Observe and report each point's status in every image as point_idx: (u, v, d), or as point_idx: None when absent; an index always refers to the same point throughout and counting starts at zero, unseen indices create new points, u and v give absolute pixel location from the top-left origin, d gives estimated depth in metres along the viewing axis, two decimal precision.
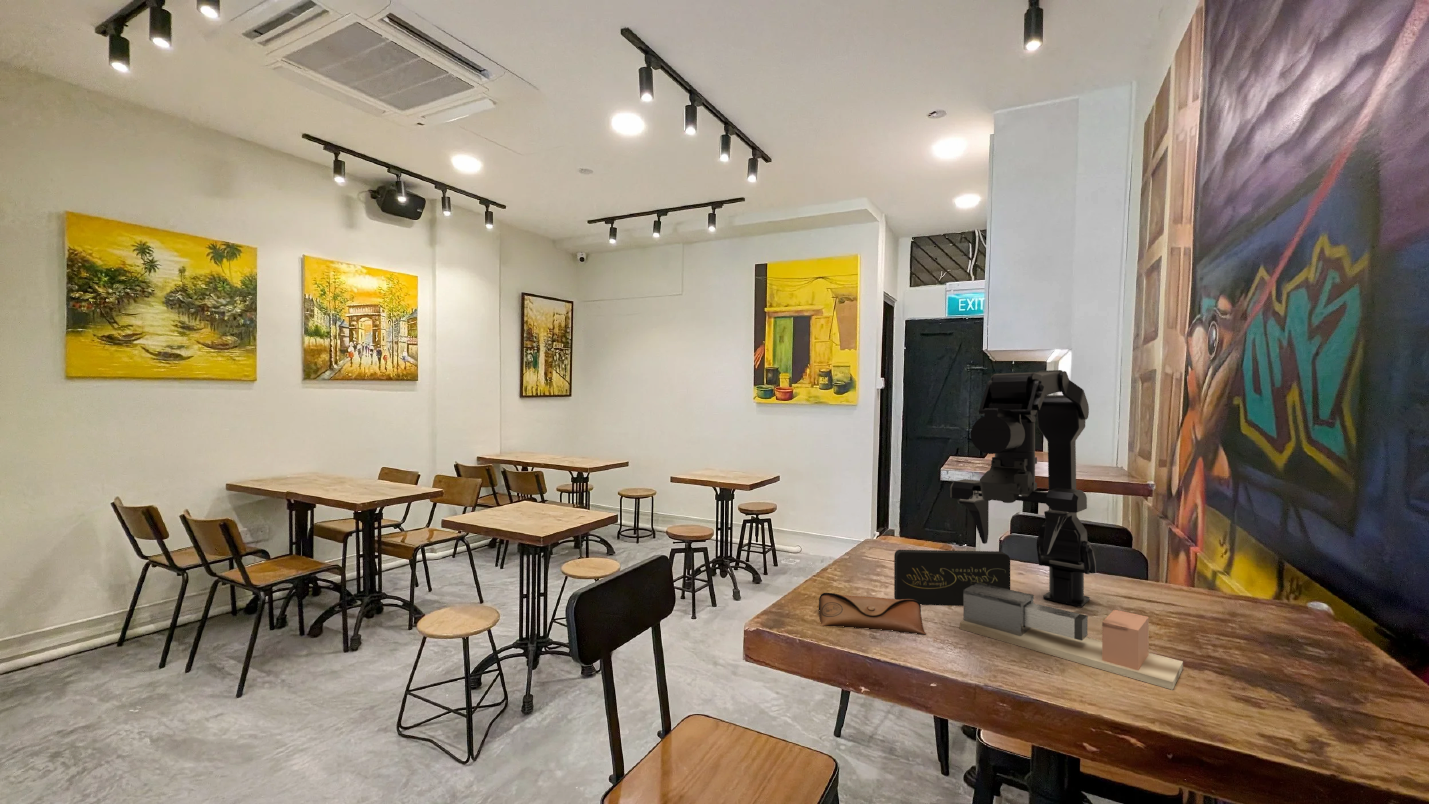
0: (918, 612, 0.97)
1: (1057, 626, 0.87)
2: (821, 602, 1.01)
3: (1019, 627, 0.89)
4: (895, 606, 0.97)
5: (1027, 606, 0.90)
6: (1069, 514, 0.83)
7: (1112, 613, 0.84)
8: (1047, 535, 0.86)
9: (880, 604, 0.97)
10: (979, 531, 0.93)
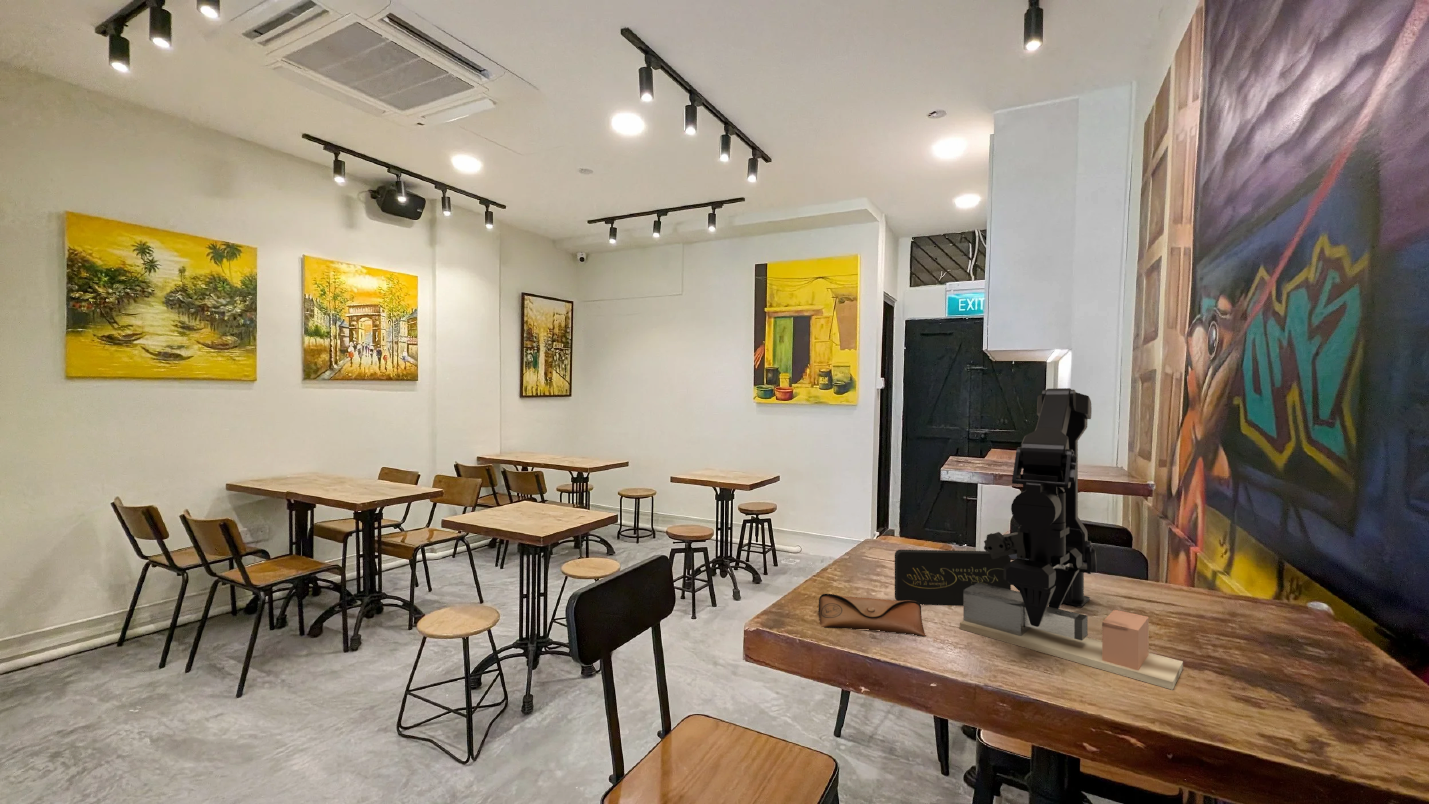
0: (918, 613, 0.96)
1: (1057, 626, 0.87)
2: (821, 603, 1.00)
3: (1019, 627, 0.89)
4: (895, 607, 0.97)
5: None
6: (1017, 584, 0.85)
7: (1112, 613, 0.84)
8: None
9: (880, 605, 0.97)
10: None
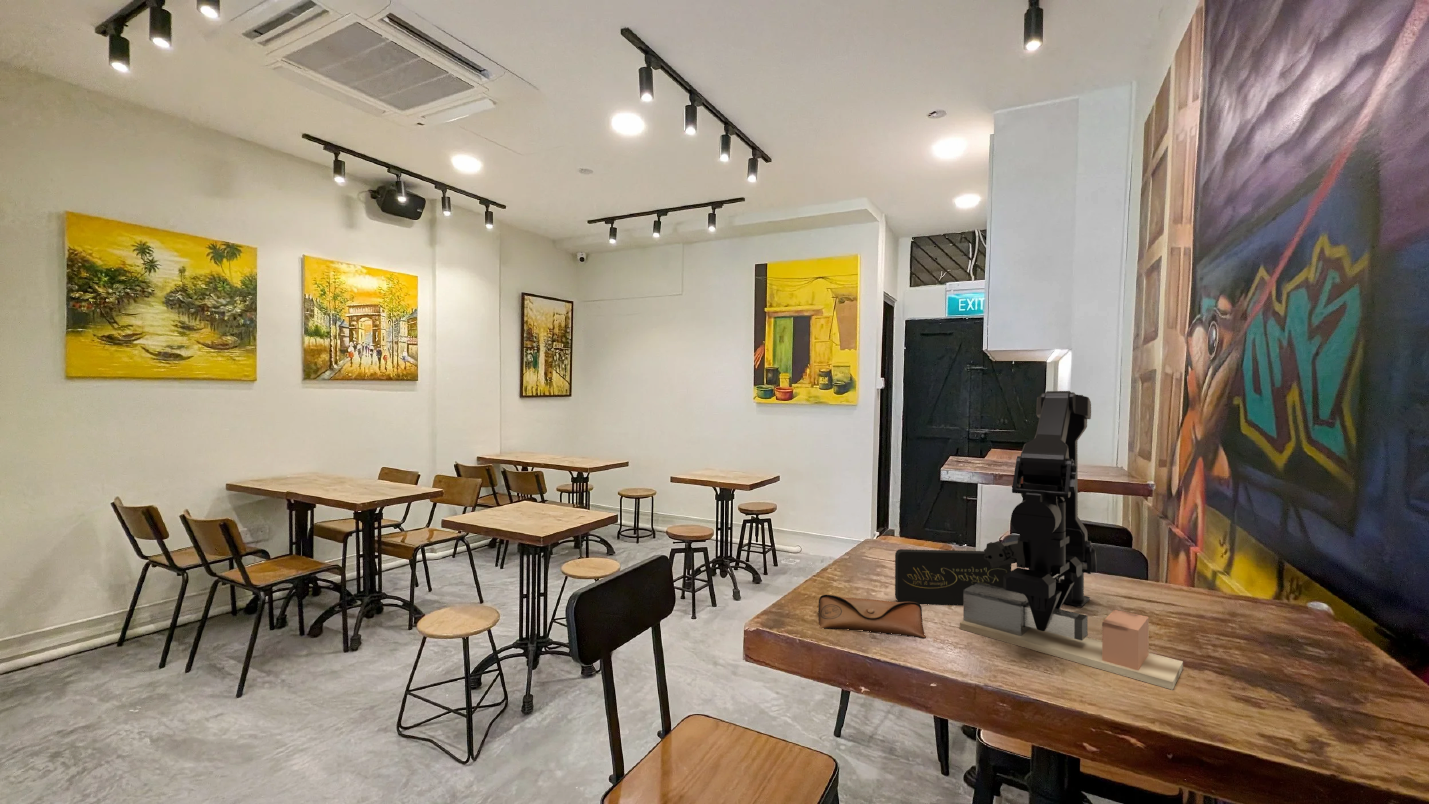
0: (919, 615, 0.95)
1: (1057, 626, 0.87)
2: (820, 604, 1.00)
3: (1019, 627, 0.89)
4: (895, 609, 0.96)
5: (1027, 606, 0.90)
6: None
7: (1112, 613, 0.84)
8: None
9: (880, 606, 0.96)
10: None
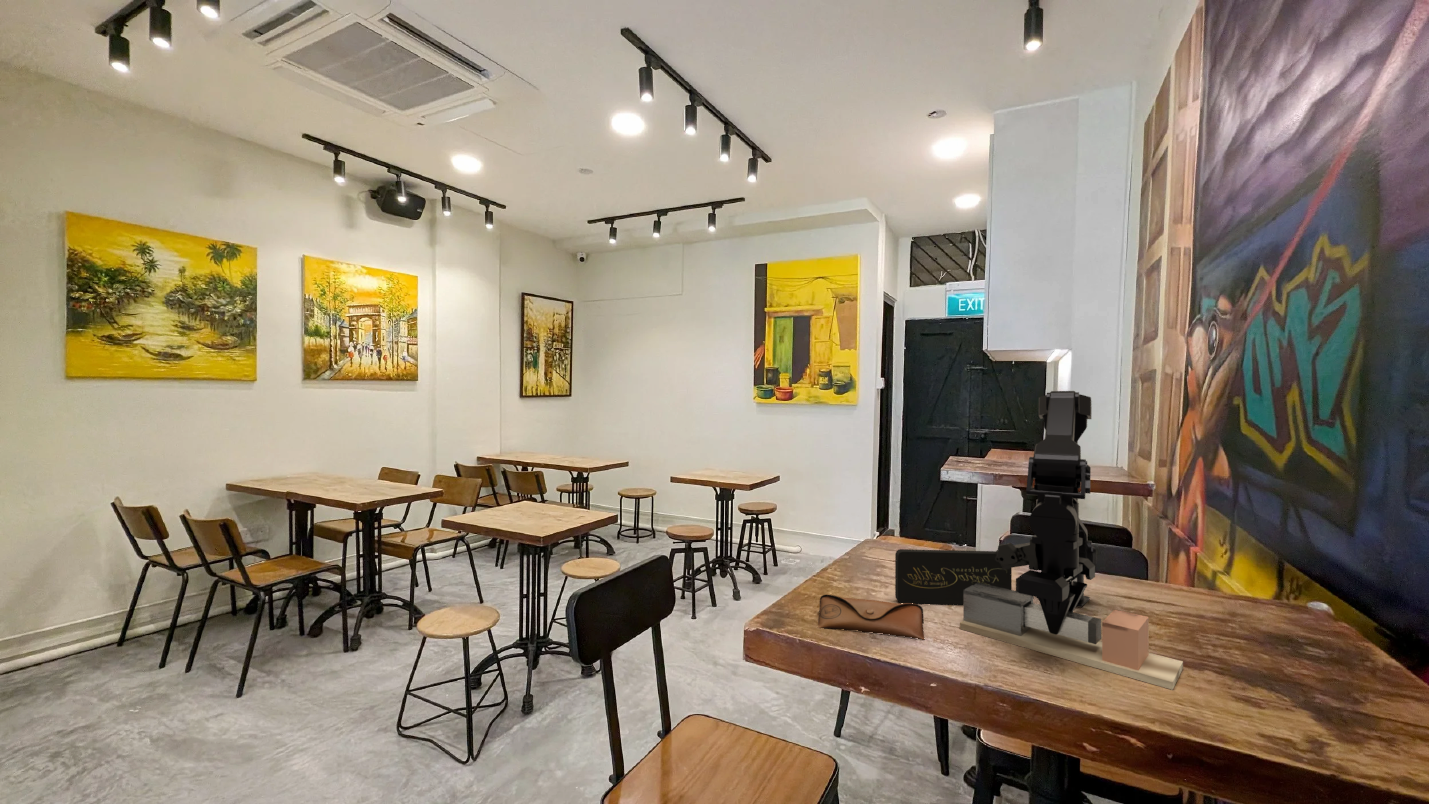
0: (919, 617, 0.94)
1: (1070, 629, 0.85)
2: (821, 604, 1.00)
3: (1019, 627, 0.89)
4: (895, 610, 0.96)
5: (1039, 609, 0.89)
6: None
7: (1112, 613, 0.84)
8: None
9: (880, 607, 0.95)
10: None
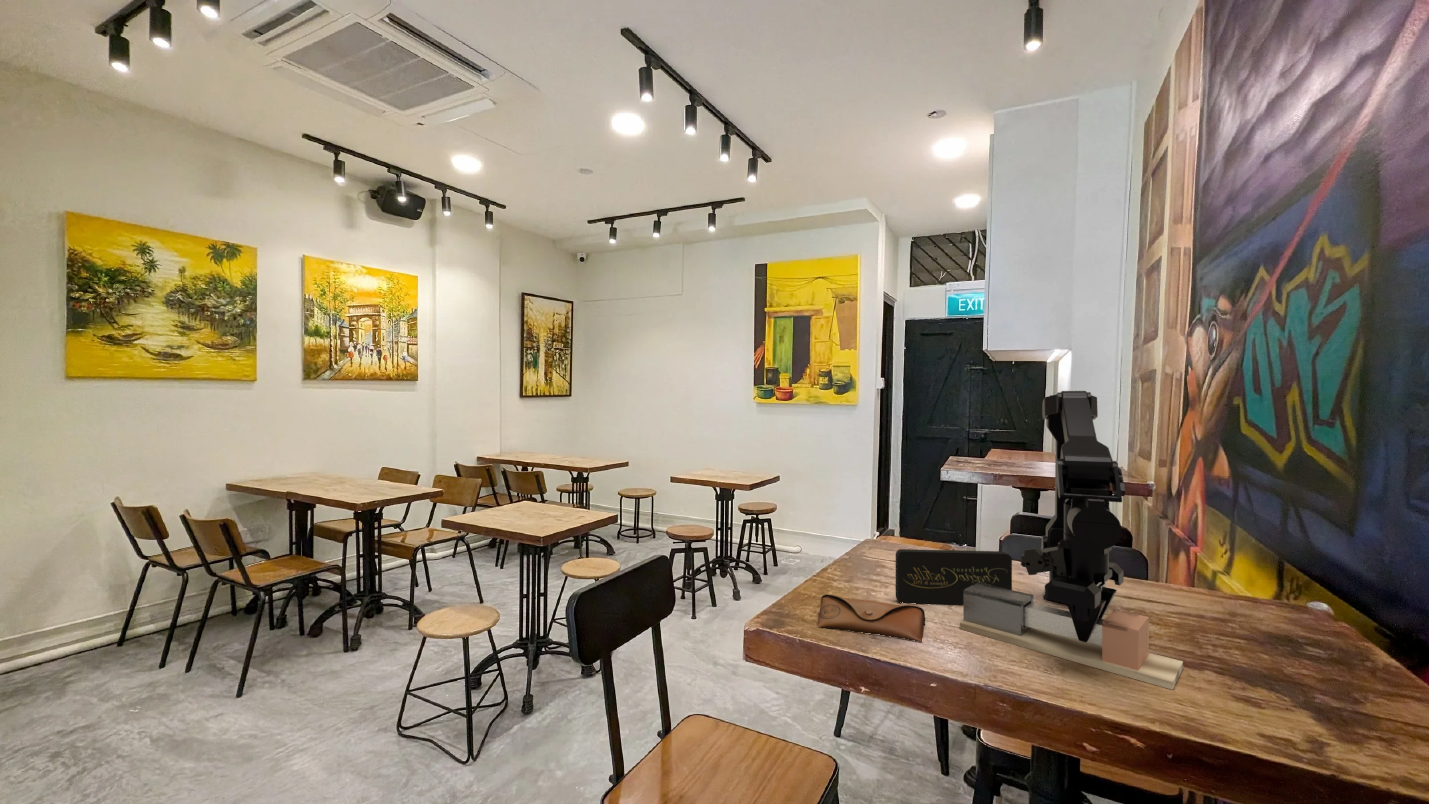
0: (919, 619, 0.93)
1: (1100, 636, 0.83)
2: (821, 604, 1.00)
3: (1019, 627, 0.89)
4: (895, 612, 0.95)
5: (1067, 616, 0.86)
6: None
7: (1112, 613, 0.84)
8: None
9: (879, 608, 0.95)
10: None
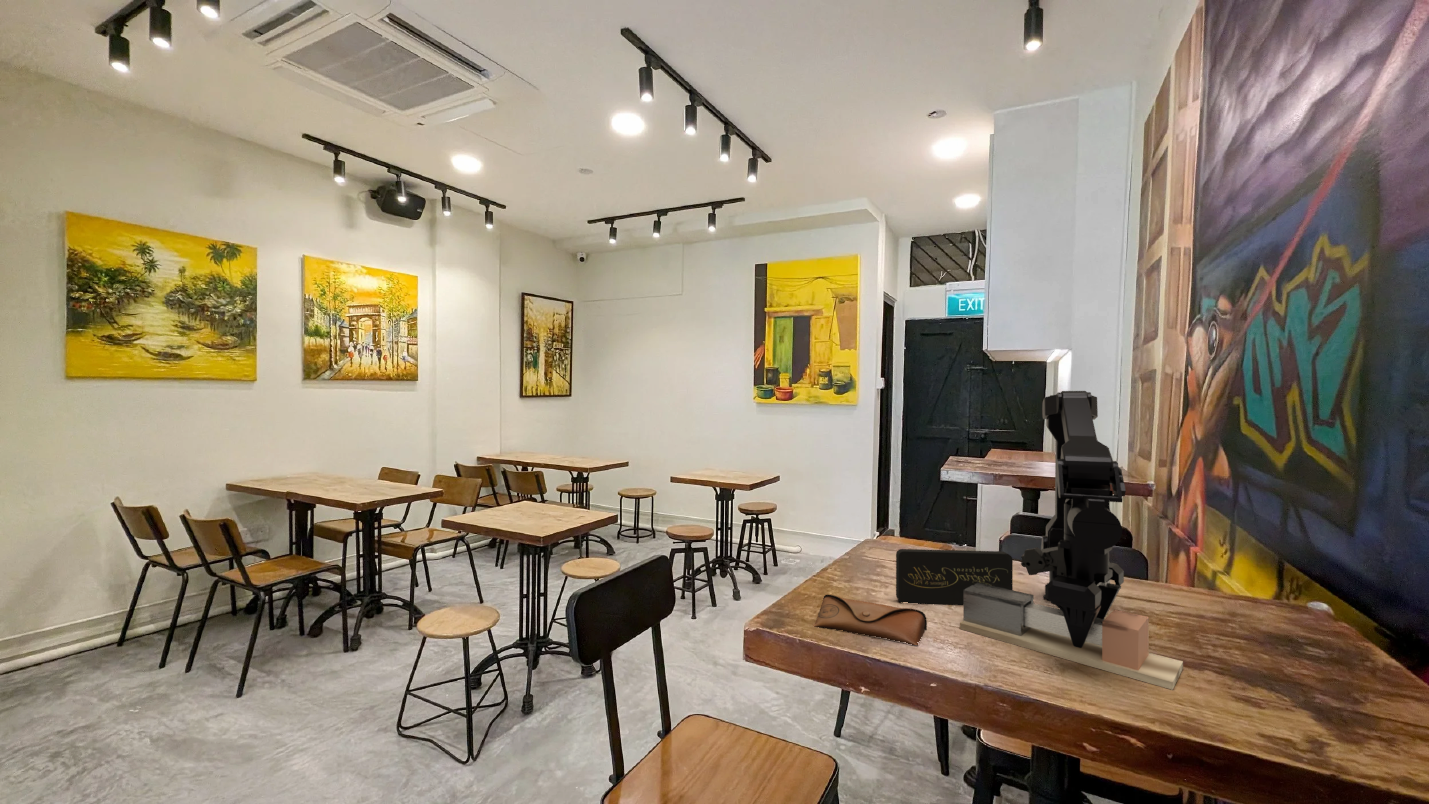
0: (918, 623, 0.92)
1: (1100, 636, 0.83)
2: (822, 603, 1.00)
3: (1019, 627, 0.89)
4: (894, 614, 0.94)
5: None
6: (1060, 603, 0.81)
7: (1112, 613, 0.84)
8: None
9: (877, 610, 0.94)
10: None
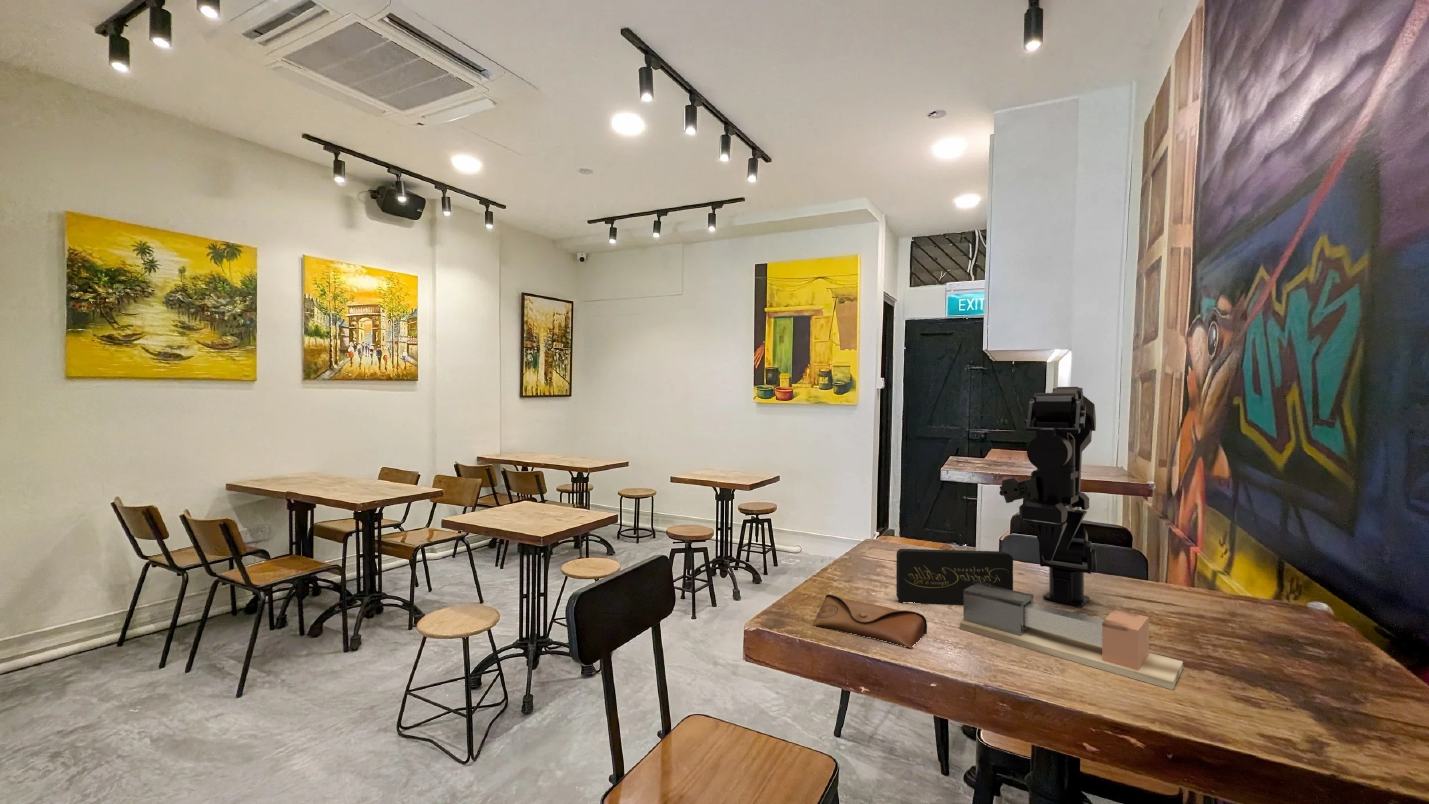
0: (916, 626, 0.91)
1: (1100, 636, 0.83)
2: None
3: (1019, 627, 0.89)
4: (892, 616, 0.93)
5: (1067, 616, 0.86)
6: (1032, 522, 0.93)
7: (1112, 613, 0.84)
8: None
9: (875, 612, 0.93)
10: None
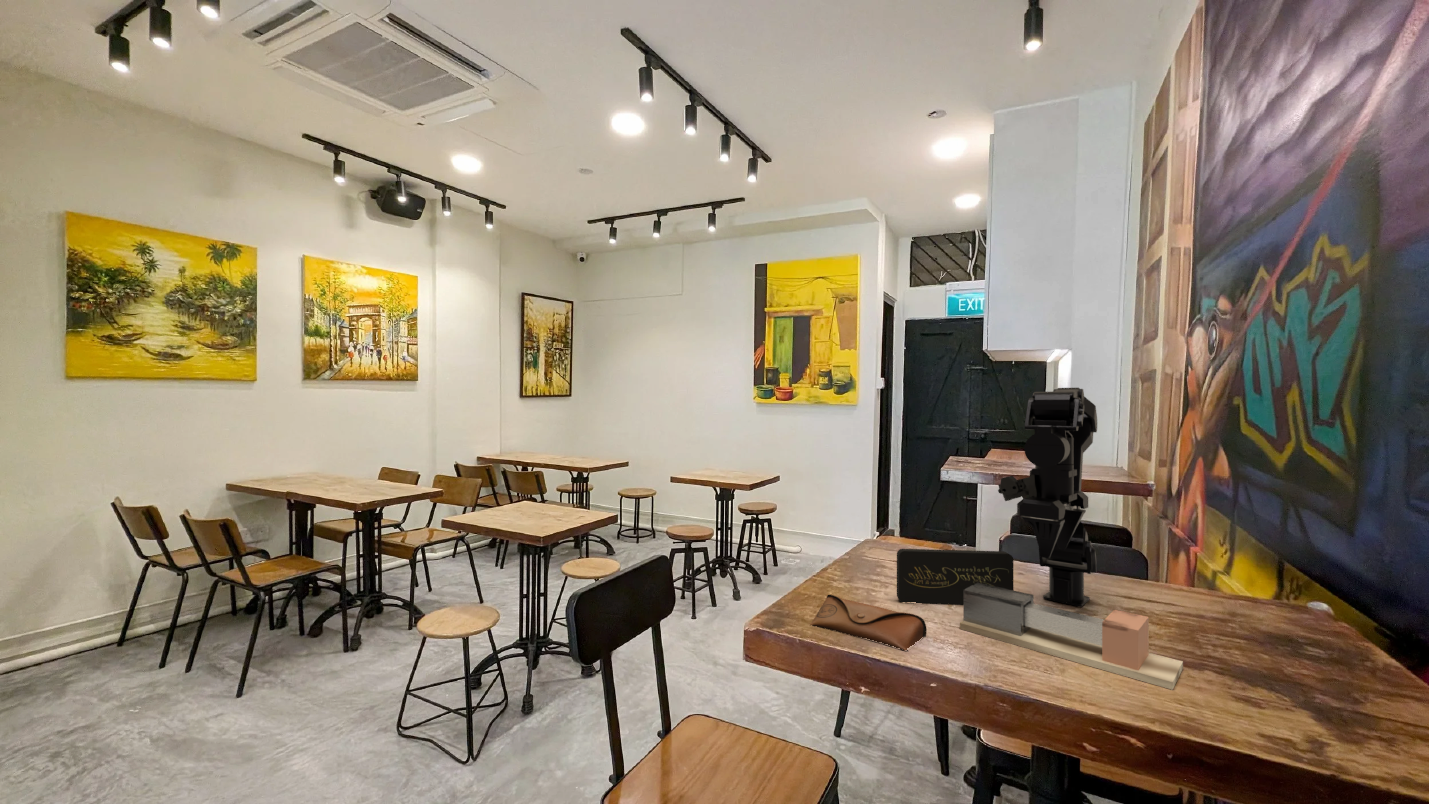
0: (913, 628, 0.90)
1: (1100, 636, 0.83)
2: (823, 603, 1.00)
3: (1019, 627, 0.89)
4: (890, 618, 0.92)
5: (1067, 616, 0.86)
6: (1030, 519, 0.93)
7: (1112, 613, 0.84)
8: None
9: (873, 613, 0.93)
10: None
